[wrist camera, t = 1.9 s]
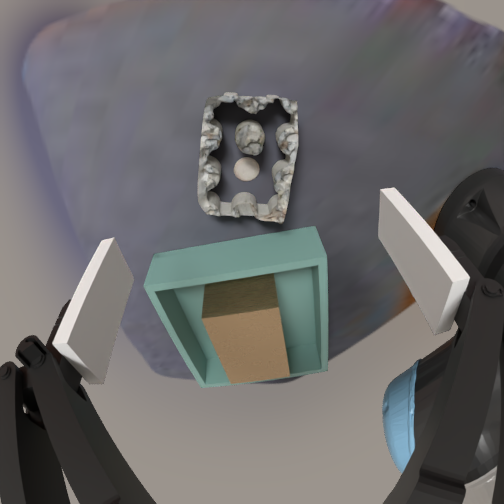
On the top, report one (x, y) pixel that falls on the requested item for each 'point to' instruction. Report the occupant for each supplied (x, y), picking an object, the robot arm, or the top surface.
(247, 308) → the tan cardboard block
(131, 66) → the top surface
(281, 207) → the egg carton
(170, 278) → the tote
